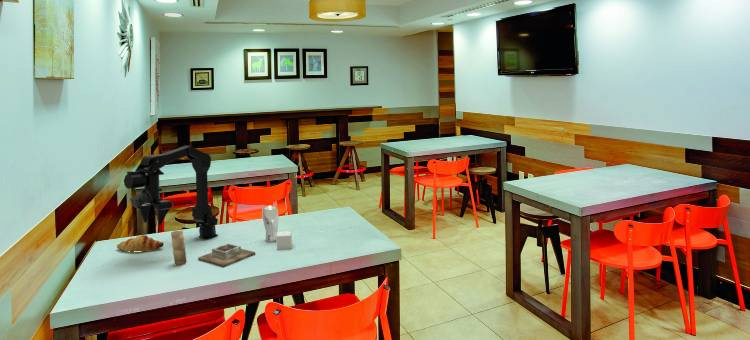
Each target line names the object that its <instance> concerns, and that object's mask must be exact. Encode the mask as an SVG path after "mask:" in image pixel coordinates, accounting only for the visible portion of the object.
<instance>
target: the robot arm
mask: <svg viewBox="0 0 750 340" xmlns="http://www.w3.org/2000/svg"><path fill="white" fill-rule="evenodd" d="M184 157H186V158H187V160H189V161H191V166H192V167H191V168H192V169H193V170H194V172H195V186H196V188H195V190H196V204H195V206H194V207H192V208H191V212H192V214H191V217H192V218H193V221H195V223H196V225H199V229H198V232H199V236H198V238H200V239H204V240H209V239H212V238H215V237H218V236H219V234H217V231H216V225H217V224H218V222H219V219H218V218H217V217H216V216H214V214H213V210H212V208H211V205H210V204H209V189H208V188H209V186H208V172H209V170H210V168H211V165H212V157H211V155H210V154H209V153H208V152H207V153H206V152H204V151H201V150H199V149H197V148H195V147H194V146H192V145H183V146H181V147H178V148H174V149H172V150H169V151H167V152H163V153H159V154H148V155H144V156H142V157H141V159H140V162H139V164H138V166H137V168H136V169H135V170H134V171H131V170H130V171H127V172H126V175H125V176H124V179H123V184H124V186H125V188H126V189H128V190H129V189H139V188H142V189H141V190H140V193H137V194H135V195H134V196H131V198H129V200H130V202H131V205H132V207H134V208H136V209H137V210H138V211H139V213H140V216H141V218H142V220H143V223H147V222H148V221H149V215H150V211H151V206H153V207H154V209H153V210H154V211H155V213H156V218H157V225H158V226H161V225H162V224H163V222H164V220H165V218H166V216H167V214H168V213H169V211H170V210H172V209H173V208H174V204H173V203H174V202H172V201H171V200H166V199H164V200H163V198H162V197H160V193H161V192H162V191H163V188H160V176H163V175H165V173H164V172H163V171H162V170H161V168H163V167H165V166H166V165H167V164H168V163H170V162H173V161H176V160H179V159H181V158H184Z"/></svg>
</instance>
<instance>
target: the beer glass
mask: <svg viewBox="0 0 750 340" xmlns="http://www.w3.org/2000/svg"><path fill="white" fill-rule="evenodd" d="M261 212H262V215H261V216H262V223H263V227H264V230H265V242H266V243H267V242H269V243H272V242H277V239H276V236H277V232H279V231H278V230H279V229H278V228H279V226H278V225H279V211H278V206H277V205H267V206H263V207H262V211H261Z"/></svg>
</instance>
